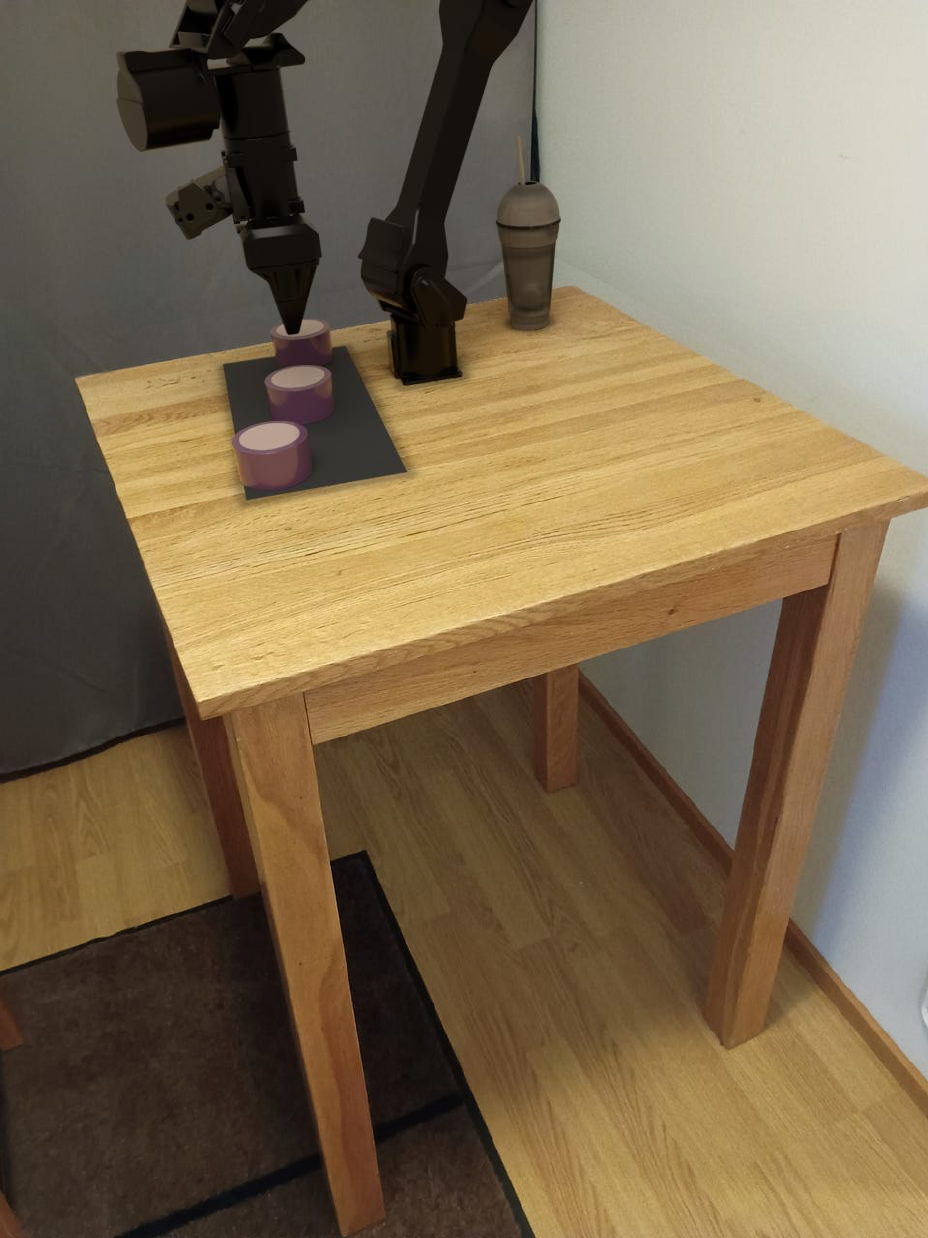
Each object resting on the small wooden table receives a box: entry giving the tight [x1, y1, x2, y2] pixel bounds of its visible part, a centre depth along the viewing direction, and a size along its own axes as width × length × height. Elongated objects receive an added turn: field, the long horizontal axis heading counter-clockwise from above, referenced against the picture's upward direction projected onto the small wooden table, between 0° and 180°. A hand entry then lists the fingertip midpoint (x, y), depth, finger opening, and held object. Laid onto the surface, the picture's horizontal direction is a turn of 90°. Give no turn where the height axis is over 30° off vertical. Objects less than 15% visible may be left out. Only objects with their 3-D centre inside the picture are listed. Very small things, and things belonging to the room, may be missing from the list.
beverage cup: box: [495, 135, 562, 331], centre depth 104 cm, size 7×7×20 cm
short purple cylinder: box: [270, 318, 334, 368], centre depth 103 cm, size 6×6×4 cm
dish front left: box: [265, 365, 336, 425], centre depth 91 cm, size 6×6×4 cm
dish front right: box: [231, 421, 313, 491], centre depth 81 cm, size 6×6×4 cm
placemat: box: [222, 345, 408, 501], centre depth 93 cm, size 14×33×1 cm, turn 15°
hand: (287, 318), depth 87 cm, fingers open, 9 cm apart
